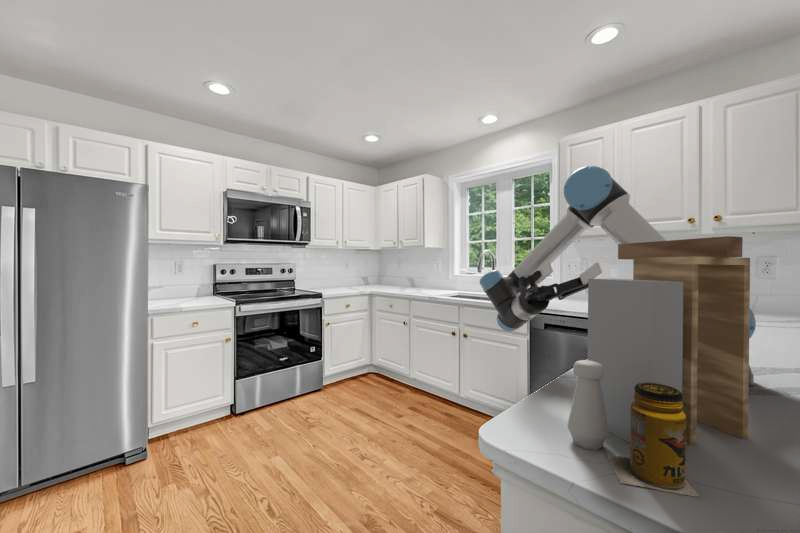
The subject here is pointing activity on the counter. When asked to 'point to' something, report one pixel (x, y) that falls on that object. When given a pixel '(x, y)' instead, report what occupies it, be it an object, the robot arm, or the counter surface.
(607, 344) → the stone block
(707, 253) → the walnut rail
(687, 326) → the oak shelf
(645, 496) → the counter surface
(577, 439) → the salt shaker
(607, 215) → the robot arm
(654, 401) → the condiment
